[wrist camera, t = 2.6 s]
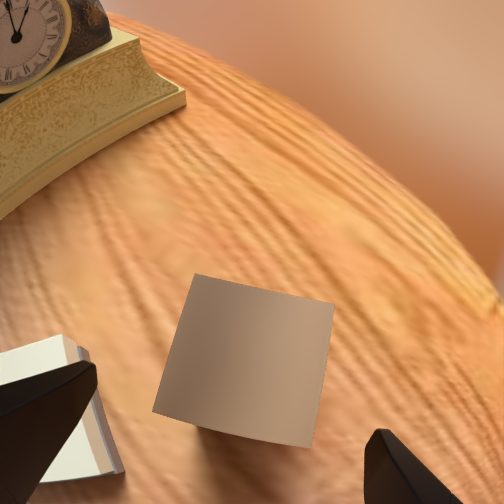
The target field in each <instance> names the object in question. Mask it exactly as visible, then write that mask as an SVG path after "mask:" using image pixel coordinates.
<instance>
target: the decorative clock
mask: <svg viewBox="0 0 504 504" xmlns="http://www.w3.org/2000/svg"><path fill="white" fill-rule="evenodd" d="M184 105H186V94H185V89H183V88H182V87H180V86H178V85H177V84H175V83H173V82H171V81H170V80H168V79H166V78H165V77H163V76H161V75H159V74H158V73H156V72H155V71H154V70H153V69H152V68H151V67H150V66H149V65H148V64H147V62H146V60H145V58H144V56H143V54H142V52H141V46H140V40H139V37H137V36H134V35H132V34H129V33H126V32H124V31H121V30H118V29H116V28H113V27H110V25H109V21H108V17H107V15H106V13H105V11H104V9H103V7H102V5H101V3H100V1H99V0H0V221H1V220H2V219H3V218H4V217H5V216H7V215H8V214H9V213H10V212H12V211H13V210H14V209H15V208H17V207H18V206H19V205H21V204H22V203H23V202H24V201H26V200H27V199H28V198H30V197H31V196H32V195H34V194H35V193H36V192H38V191H39V190H41V189H42V188H43V187H45V186H46V185H48V184H49V183H50V182H52V181H53V180H55V179H56V178H58V177H59V176H61V175H62V174H63V173H65V172H66V171H68V170H69V169H71V168H73V167H74V166H76V165H77V164H79V163H80V162H82V161H83V160H85V159H87V158H88V157H90V156H91V155H93V154H95V153H96V152H98V151H100V150H101V149H103V148H105V147H106V146H108V145H110V144H111V143H113V142H115V141H117V140H118V139H120V138H122V137H124V136H125V135H127V134H129V133H131V132H133V131H135V130H136V129H138V128H140V127H142V126H144V125H146V124H148V123H150V122H152V121H154V120H156V119H157V118H159V117H161V116H163V115H166V114H168V113H170V112H172V111H174V110H176V109H178V108H180V107H182V106H184Z"/></svg>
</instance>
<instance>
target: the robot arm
mask: <svg viewBox="0 0 504 504" xmlns="http://www.w3.org/2000/svg"><path fill="white" fill-rule="evenodd" d="M97 385H98V381H97V371H96V365H95V364H94V363H92V362H89V361H87V360H81V361H78V362H75V363H72V364H69V365H66V366H63V367H59V368H56V369H53V370H50V371H47V372H43V373H40V374H37V375H34V376H30V377H27V378H24V379H20V380H17V381H13V382H10V383H6V384H3V385H0V504H26V503H27V501H28V500H29V498H30V496H31V495H32V493H33V492H34V490H35V489H36V487H37V485H38V484H39V482H40V481H41V479H42V478H43V476H44V474H45V473H46V471H47V470H48V468H49V467H50V465H51V464H52V462H53V461H54V459H55V458H56V456H57V455H58V453H59V452H60V450H61V449H62V447H63V446H64V444H65V443H66V441H67V440H68V438H69V437H70V435H71V434H72V432H73V431H74V429H75V428H76V426H77V425H78V423H79V421H80V420H81V418H82V416H83V414H84V412H85V410H86V408H87V406H88V404H89V402H90V400H91V398H92V397H93V395H94V393H95V391H96V389H97ZM364 502H365V504H463V503H462V502H461V501H460V500H459V499H458V498H457V497H456V496H455V495H454V494H453V493H452V494H451V491H450V490H449V489H448V488H447V487H446V486H445V485H444V484H443V483H442V482H441V481H440V480H439V479H438V478H437V477H436V476H435V475H434V474H433V473H432V472H431V471H430V470H429V469H428V468H427V467H426V466H425V465H424V464H423V463H422V462H421V461H420V460H419V459H418V458H417V457H416V456H415V455H414V454H413V453H412V452H411V451H410V450H409V449H408V448H407V447H406V446H405V445H404V444H403V443H402V442H401V441H400V440H399V439H398V438H397V437H396V436H395V435H394V434H393V433H392V432H391V431H390V430H389V429H380V428H379V429H376V430H375V431H374V433H373V435H372V436H371V438H370V439H369V441H368V443H367V444H366V447H365V453H364Z"/></svg>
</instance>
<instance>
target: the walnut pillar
mask: <svg viewBox="0 0 504 504" xmlns="http://www.w3.org/2000/svg"><path fill="white" fill-rule="evenodd" d="M334 306H335V304H332V303H327V302H322V301H317V300H312V299H307V298H303V297H298V296H293V295H288V294H284V293H279V292H274V291H270V290H265V289H261V288H256V287H252V286H247V285H243V284H238V283H234V282H230V281H225V280H221V279H216V278H212V277H208V276H204V275H199V274H195V275H194V278H193V281H192V284H191V287H190V290H189V293H188V296H187V299H186V302H185V305H184V308H183V311H182V314H181V317H180V320H179V323H178V327H177V330H176V333H175V336H174V339H173V343H172V346H171V349H170V352H169V356H168V359H167V362H166V365H165V369H164V372H163V376H162V379H161V382H160V386H159V389H158V393H157V396H156V400H155V403H154V407H153V410H152V412H154V413H157V414H160V415H163V416H167V417H170V418H173V419H176V420H180V421H183V422H186V423H190V424H193V425H197V426H201V427H204V428H208V429H212V430H216V431H220V432H224V433H228V434H233V435H237V436H242V437H246V438H251V439H256V440H261V441H267V442H272V443H278V444H284V445H291V446H297V447H305V448H311V443H312V439H313V434H314V429H315V424H316V419H317V414H318V409H319V404H320V399H321V393H322V387H323V382H324V376H325V370H326V363H327V357H328V351H329V344H330V337H331V330H332V322H333V314H334Z"/></svg>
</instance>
